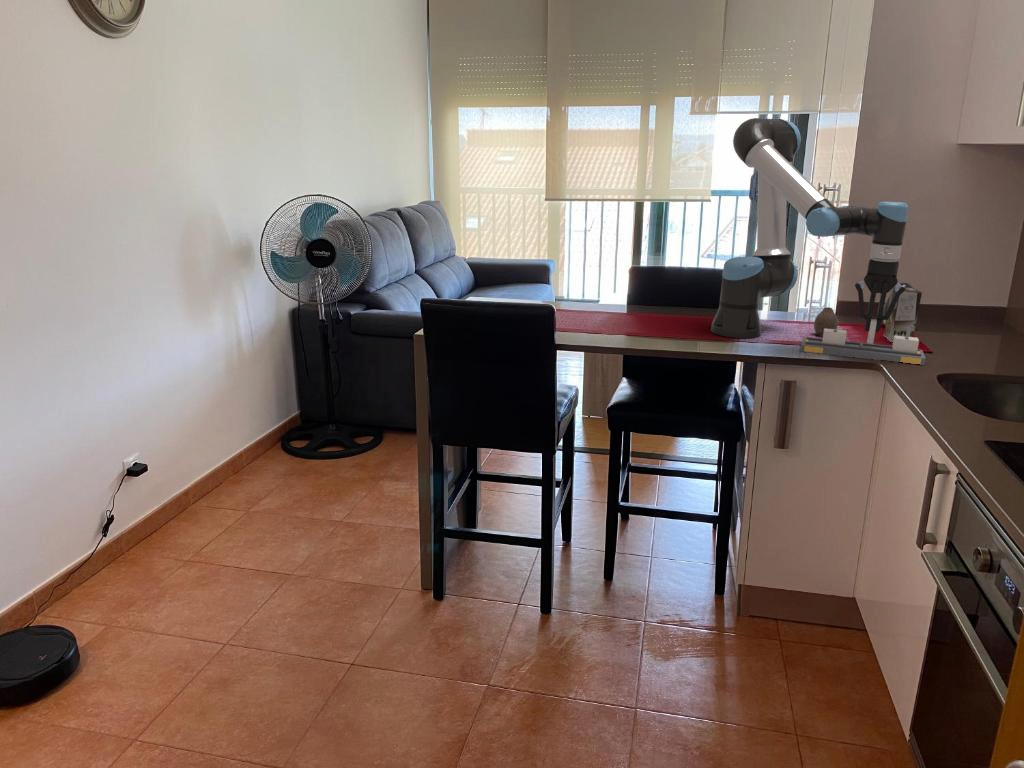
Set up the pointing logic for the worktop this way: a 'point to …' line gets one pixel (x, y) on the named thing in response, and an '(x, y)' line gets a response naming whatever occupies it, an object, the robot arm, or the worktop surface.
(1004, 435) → the worktop surface
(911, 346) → the slider
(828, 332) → the slider
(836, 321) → the vase
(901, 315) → the coffee box
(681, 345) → the worktop surface
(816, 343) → the grey slider track
